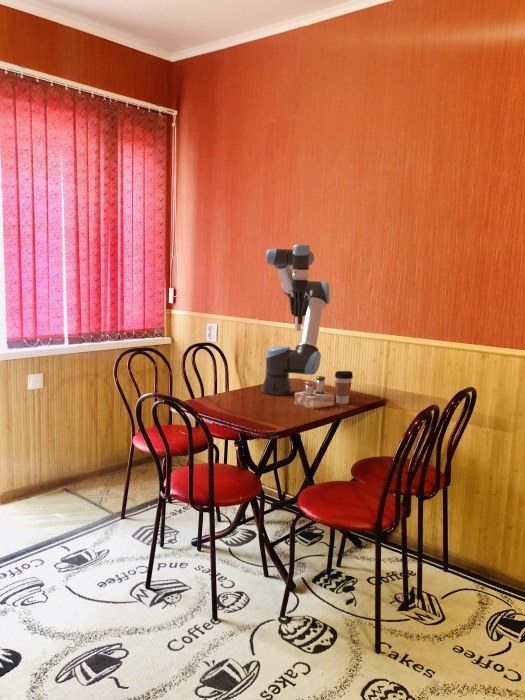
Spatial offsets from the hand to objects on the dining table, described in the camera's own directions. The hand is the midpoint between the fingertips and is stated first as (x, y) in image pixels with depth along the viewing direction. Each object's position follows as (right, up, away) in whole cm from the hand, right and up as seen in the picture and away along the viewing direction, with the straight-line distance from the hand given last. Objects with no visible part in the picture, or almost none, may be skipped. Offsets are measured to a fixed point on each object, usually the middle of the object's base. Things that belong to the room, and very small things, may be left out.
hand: (297, 330), depth 262 cm
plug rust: (+5, -33, +3) cm, 33 cm away
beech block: (+8, -34, +5) cm, 36 cm away
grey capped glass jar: (+11, -31, +7) cm, 33 cm away
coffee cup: (+22, -34, +11) cm, 42 cm away
